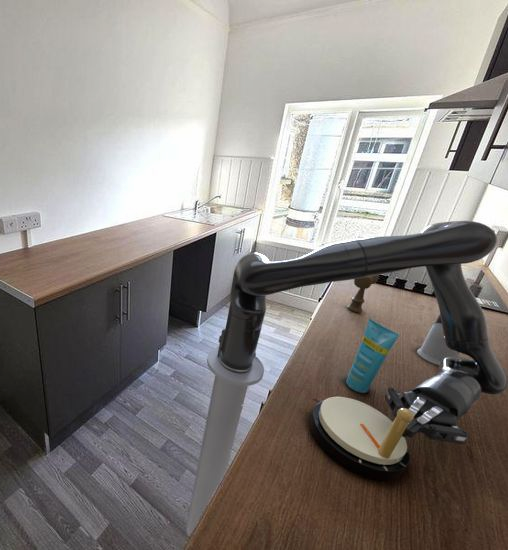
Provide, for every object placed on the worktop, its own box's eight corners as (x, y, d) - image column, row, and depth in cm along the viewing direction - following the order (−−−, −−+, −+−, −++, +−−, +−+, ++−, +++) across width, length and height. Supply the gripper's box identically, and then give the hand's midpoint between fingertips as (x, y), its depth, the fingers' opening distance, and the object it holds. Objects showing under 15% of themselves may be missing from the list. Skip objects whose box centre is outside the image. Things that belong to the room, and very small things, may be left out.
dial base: (292, 424, 66) (296, 414, 65) (337, 399, 74) (341, 390, 73) (375, 498, 53) (382, 487, 52) (419, 458, 60) (426, 448, 59)
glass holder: (410, 351, 95) (431, 311, 89) (437, 344, 99) (458, 305, 93) (443, 369, 87) (468, 326, 81) (471, 360, 92) (496, 319, 86)
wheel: (306, 399, 69) (322, 355, 64) (370, 404, 69) (392, 360, 64) (344, 462, 55) (368, 412, 50) (425, 468, 55) (457, 418, 50)
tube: (337, 378, 81) (362, 318, 73) (350, 375, 83) (375, 316, 75) (364, 398, 75) (393, 335, 67) (377, 394, 76) (407, 332, 69)
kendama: (366, 309, 120) (385, 263, 112) (358, 316, 114) (378, 269, 106) (349, 303, 124) (366, 259, 116) (341, 310, 118) (358, 263, 110)
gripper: (410, 364, 65) (368, 390, 57) (496, 408, 54) (460, 447, 46) (397, 390, 68) (355, 418, 60) (476, 436, 57) (439, 478, 49)
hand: (401, 431), depth 53 cm, fingers closed
